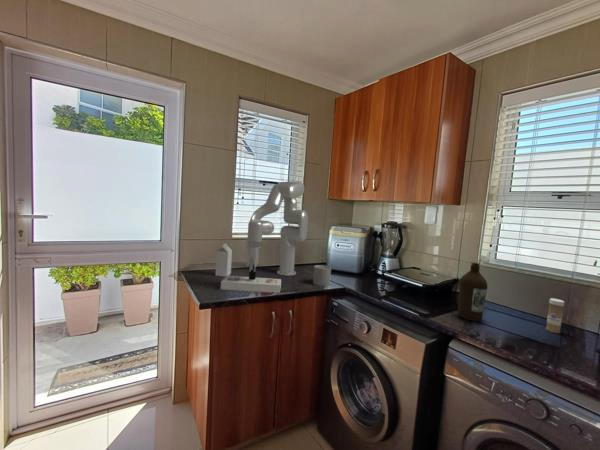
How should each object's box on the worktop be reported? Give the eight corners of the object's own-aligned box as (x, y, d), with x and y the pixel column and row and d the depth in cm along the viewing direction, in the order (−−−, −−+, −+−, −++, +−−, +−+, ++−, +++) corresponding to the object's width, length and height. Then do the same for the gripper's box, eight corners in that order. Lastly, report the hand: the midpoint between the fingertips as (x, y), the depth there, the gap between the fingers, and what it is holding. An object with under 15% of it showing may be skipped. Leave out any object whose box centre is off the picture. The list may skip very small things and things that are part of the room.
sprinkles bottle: (545, 331, 117) (549, 299, 116) (545, 327, 120) (549, 297, 119) (560, 334, 114) (565, 302, 113) (560, 331, 117) (564, 300, 116)
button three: (248, 285, 151) (248, 277, 151) (257, 286, 151) (257, 277, 151) (246, 288, 146) (246, 279, 146) (256, 288, 146) (256, 280, 146)
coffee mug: (327, 287, 160) (328, 269, 159) (310, 284, 163) (311, 267, 162) (332, 281, 172) (334, 265, 171) (317, 279, 176) (318, 263, 175)
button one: (266, 286, 152) (267, 278, 151) (275, 287, 152) (276, 279, 151) (265, 289, 147) (266, 281, 146) (275, 290, 147) (275, 281, 146)
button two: (229, 284, 151) (230, 276, 151) (238, 284, 151) (239, 276, 151) (227, 287, 146) (227, 278, 146) (236, 287, 146) (237, 279, 146)
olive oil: (450, 313, 131) (456, 260, 129) (469, 312, 133) (475, 260, 131) (469, 322, 120) (475, 265, 119) (489, 322, 123) (496, 265, 121)
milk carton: (230, 274, 174) (232, 243, 172) (226, 277, 167) (228, 245, 165) (219, 273, 174) (221, 242, 173) (215, 275, 167) (216, 244, 166)
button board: (226, 282, 155) (226, 275, 154) (280, 286, 155) (281, 279, 155) (220, 289, 143) (221, 281, 142) (279, 293, 143) (280, 285, 143)
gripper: (249, 242, 155) (247, 275, 156) (244, 246, 140) (242, 282, 141) (263, 243, 155) (261, 276, 156) (259, 247, 140) (257, 283, 141)
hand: (252, 278), depth 148 cm, fingers closed
